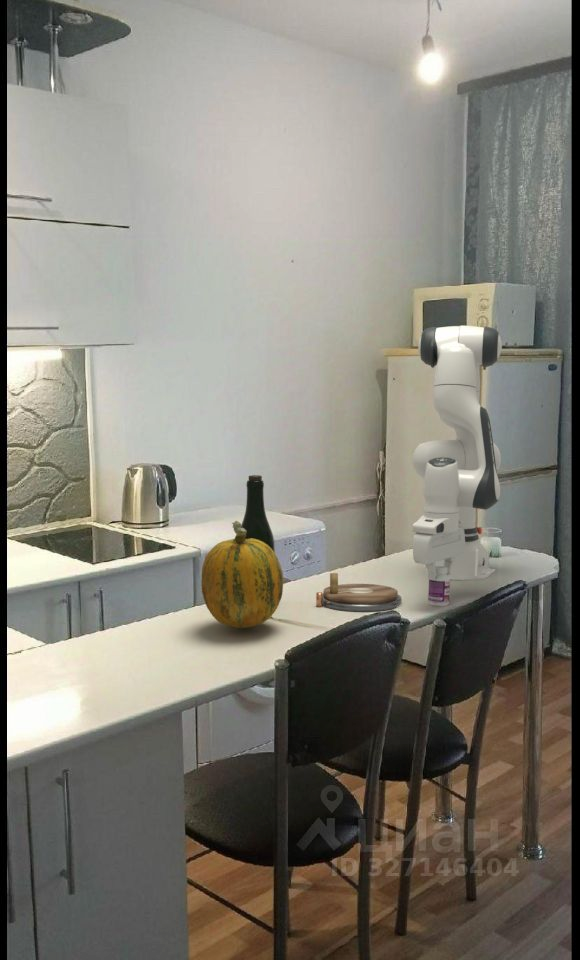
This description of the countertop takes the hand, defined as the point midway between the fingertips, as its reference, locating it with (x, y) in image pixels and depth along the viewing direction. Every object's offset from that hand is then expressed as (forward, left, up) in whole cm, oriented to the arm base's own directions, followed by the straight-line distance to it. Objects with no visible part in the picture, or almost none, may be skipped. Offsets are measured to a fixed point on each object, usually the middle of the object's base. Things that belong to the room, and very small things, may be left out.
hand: (439, 576), depth 235 cm
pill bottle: (0, 0, -7) cm, 7 cm away
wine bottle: (+28, -37, -8) cm, 47 cm away
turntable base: (+10, -17, -7) cm, 21 cm away
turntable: (+10, -17, -6) cm, 21 cm away
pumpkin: (+46, -26, -8) cm, 54 cm away
